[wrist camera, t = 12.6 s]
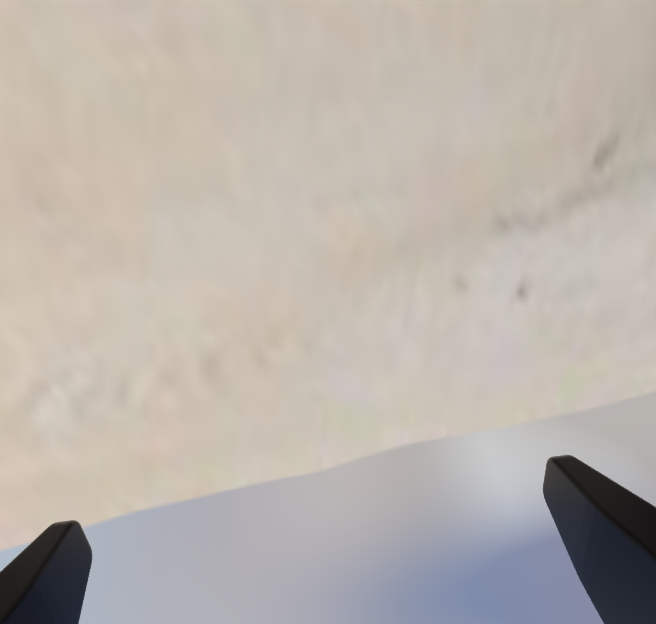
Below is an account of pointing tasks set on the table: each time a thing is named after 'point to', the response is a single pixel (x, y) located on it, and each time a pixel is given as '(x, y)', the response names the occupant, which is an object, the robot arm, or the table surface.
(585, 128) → the table surface
